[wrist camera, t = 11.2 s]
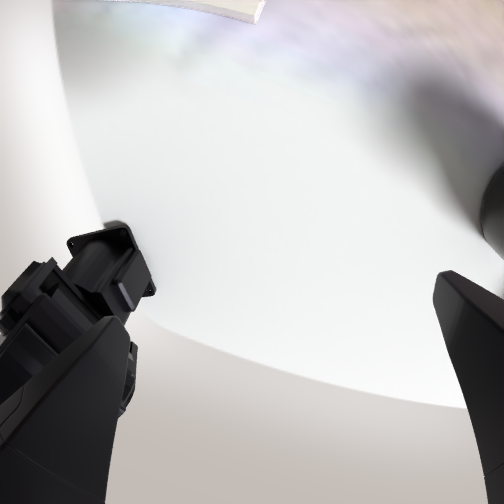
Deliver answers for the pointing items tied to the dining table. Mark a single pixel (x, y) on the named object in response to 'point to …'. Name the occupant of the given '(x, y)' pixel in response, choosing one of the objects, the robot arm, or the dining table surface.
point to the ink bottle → (494, 214)
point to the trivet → (216, 7)
